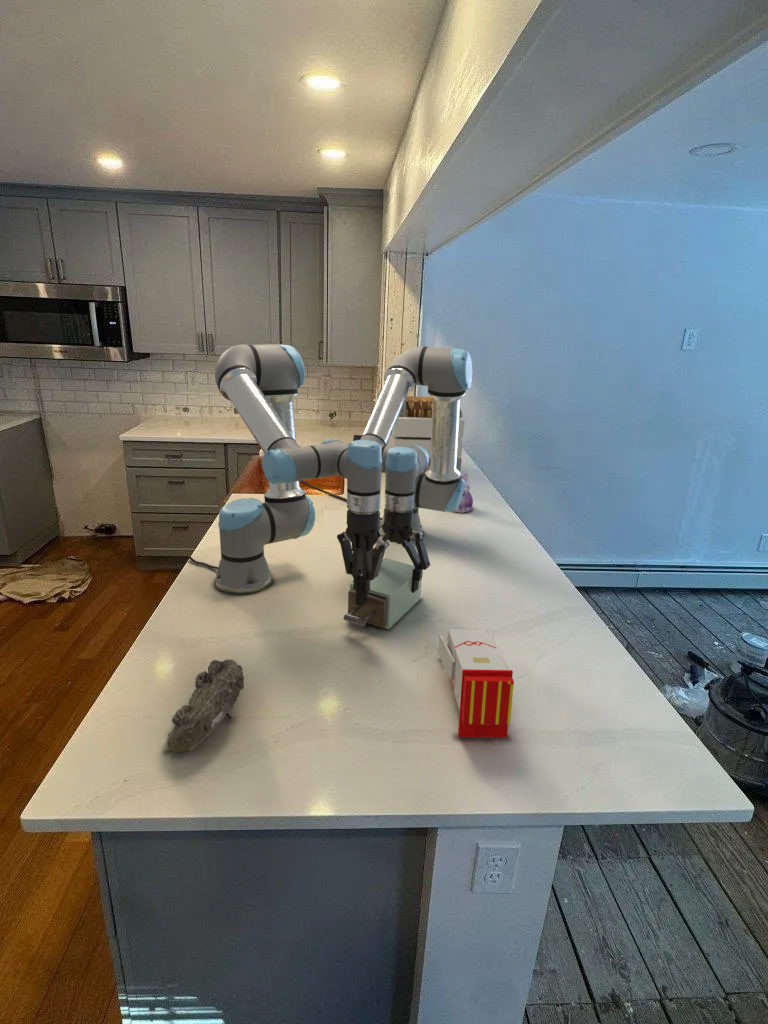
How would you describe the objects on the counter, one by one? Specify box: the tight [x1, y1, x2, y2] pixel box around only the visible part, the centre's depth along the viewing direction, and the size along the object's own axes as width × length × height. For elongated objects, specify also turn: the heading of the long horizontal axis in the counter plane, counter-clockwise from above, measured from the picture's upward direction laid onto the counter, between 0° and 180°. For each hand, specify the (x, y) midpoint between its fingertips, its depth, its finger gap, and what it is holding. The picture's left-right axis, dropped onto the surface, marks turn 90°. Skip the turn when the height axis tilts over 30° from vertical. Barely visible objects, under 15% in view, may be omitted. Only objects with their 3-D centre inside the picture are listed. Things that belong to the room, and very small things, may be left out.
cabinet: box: [349, 557, 422, 630], centre depth 149 cm, size 18×11×10 cm, turn 152°
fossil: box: [166, 658, 245, 754], centre depth 106 cm, size 22×10×15 cm
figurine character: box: [352, 434, 362, 441], centre depth 311 cm, size 7×8×15 cm
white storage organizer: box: [387, 395, 465, 475], centre depth 268 cm, size 34×33×41 cm
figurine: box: [454, 472, 474, 514], centre depth 225 cm, size 9×10×15 cm
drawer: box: [343, 588, 387, 629], centre depth 144 cm, size 23×10×8 cm, turn 152°
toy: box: [437, 628, 515, 738], centre depth 117 cm, size 12×13×30 cm
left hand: (361, 602), depth 136 cm, fingers closed
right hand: (394, 584), depth 152 cm, fingers closed on cabinet, 11 cm apart
